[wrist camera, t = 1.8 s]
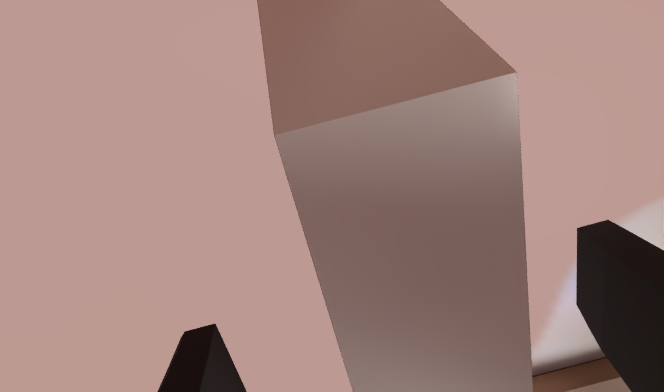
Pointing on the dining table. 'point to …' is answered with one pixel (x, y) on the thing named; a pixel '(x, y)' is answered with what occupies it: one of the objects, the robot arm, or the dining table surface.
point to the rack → (582, 379)
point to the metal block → (405, 189)
